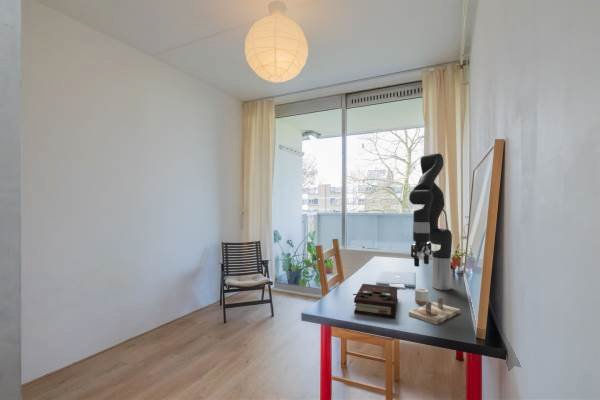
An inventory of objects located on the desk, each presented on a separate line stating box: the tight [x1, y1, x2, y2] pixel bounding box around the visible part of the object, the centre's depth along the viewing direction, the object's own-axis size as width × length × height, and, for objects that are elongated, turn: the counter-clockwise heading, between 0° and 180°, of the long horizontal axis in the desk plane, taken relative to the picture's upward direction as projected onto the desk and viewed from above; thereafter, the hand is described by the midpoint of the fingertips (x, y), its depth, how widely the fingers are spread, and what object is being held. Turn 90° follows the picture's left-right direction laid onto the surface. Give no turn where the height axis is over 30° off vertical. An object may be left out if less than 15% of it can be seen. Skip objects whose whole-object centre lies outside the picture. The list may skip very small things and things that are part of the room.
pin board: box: [408, 296, 461, 325], centre depth 124 cm, size 20×12×6 cm, turn 127°
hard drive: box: [388, 283, 406, 290], centre depth 166 cm, size 2×8×12 cm
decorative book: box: [352, 283, 399, 320], centre depth 133 cm, size 19×8×30 cm
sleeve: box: [414, 287, 430, 306], centre depth 138 cm, size 6×6×6 cm
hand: (421, 265), depth 138 cm, fingers open, 8 cm apart
